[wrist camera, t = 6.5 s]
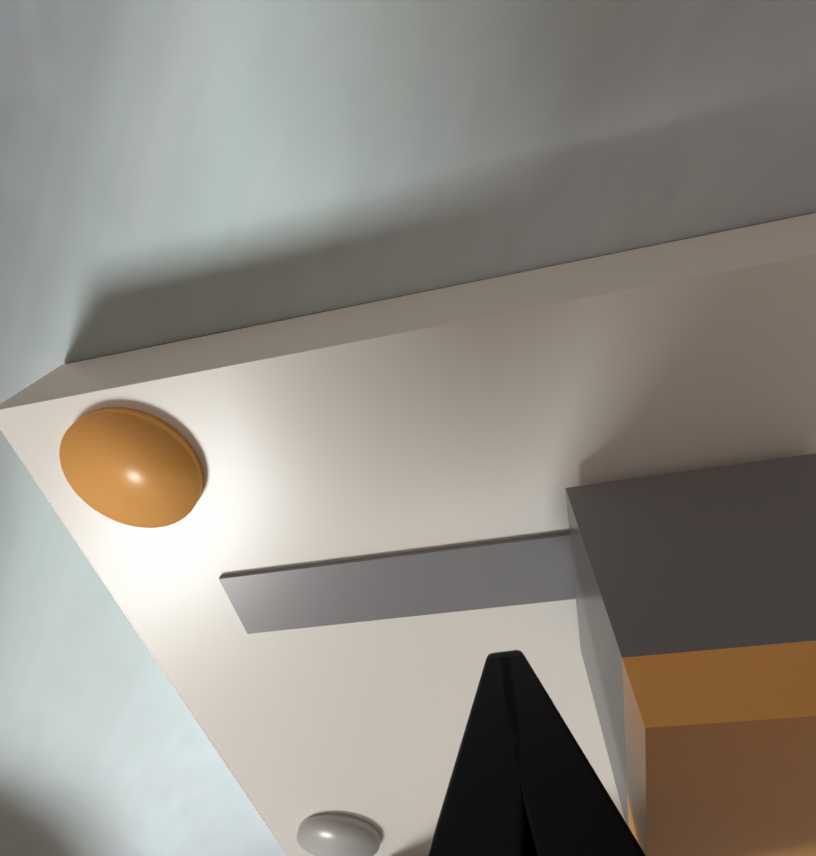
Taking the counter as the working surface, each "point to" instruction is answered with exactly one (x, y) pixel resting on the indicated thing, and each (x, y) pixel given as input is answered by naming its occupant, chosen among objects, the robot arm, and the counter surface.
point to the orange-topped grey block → (704, 652)
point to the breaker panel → (407, 500)
